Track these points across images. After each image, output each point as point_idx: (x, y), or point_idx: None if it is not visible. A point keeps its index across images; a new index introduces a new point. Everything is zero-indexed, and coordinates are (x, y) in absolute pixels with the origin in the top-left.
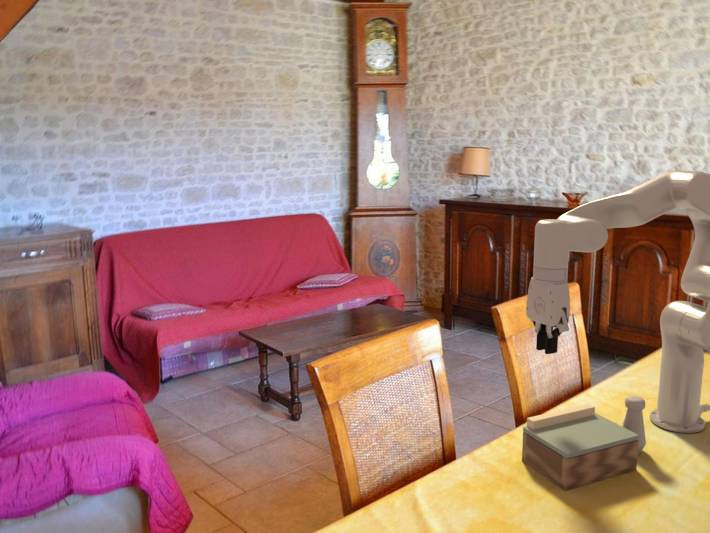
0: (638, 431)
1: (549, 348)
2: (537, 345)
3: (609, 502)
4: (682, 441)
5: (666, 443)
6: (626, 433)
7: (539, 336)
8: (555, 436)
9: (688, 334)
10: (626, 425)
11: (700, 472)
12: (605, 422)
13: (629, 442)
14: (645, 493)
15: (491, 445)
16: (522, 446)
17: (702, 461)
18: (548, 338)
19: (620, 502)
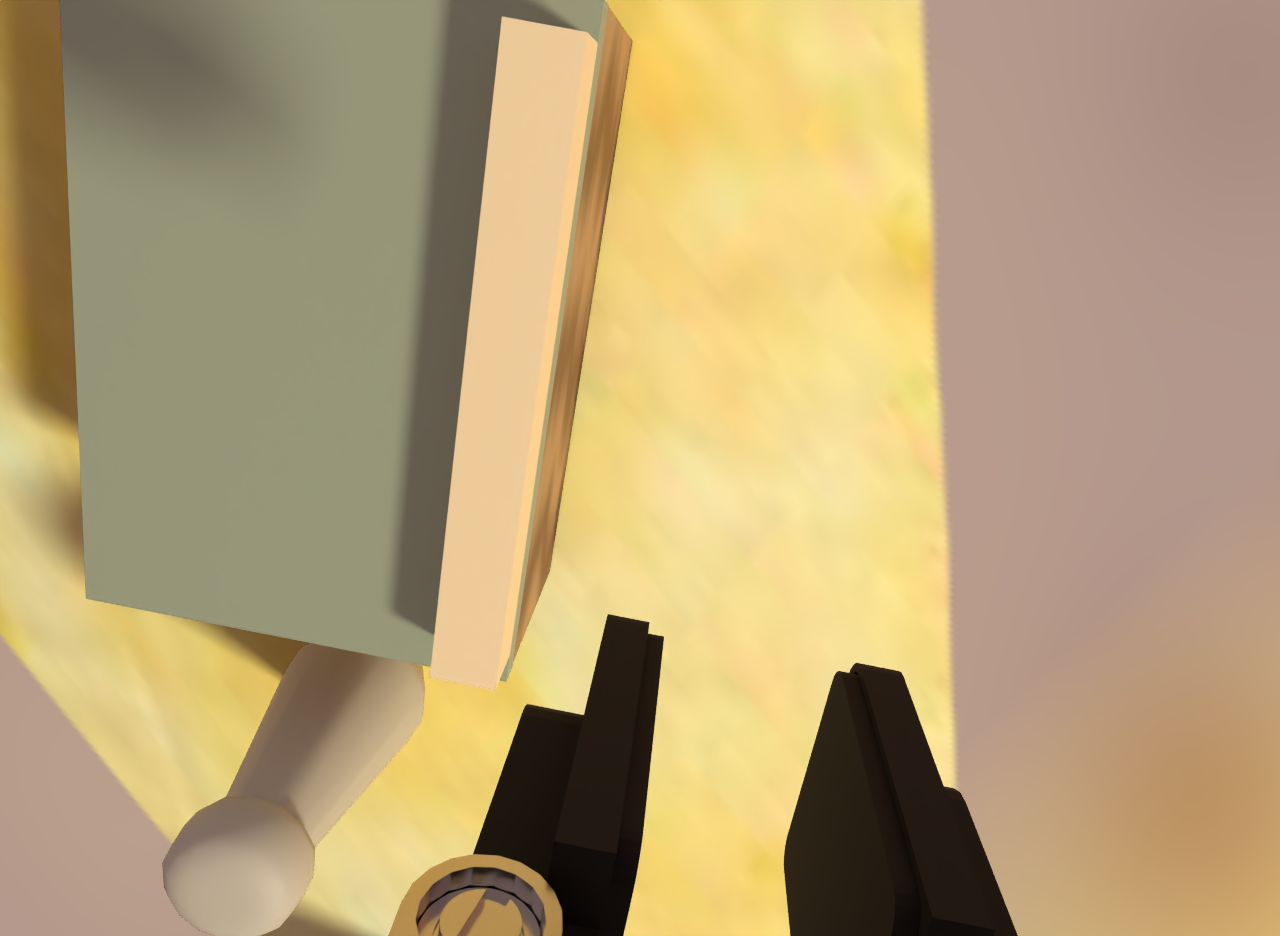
0: (263, 721)
1: (577, 721)
2: (883, 712)
3: (31, 87)
4: (316, 907)
5: (339, 842)
6: (136, 559)
7: (891, 885)
8: (331, 93)
9: None
10: (314, 715)
11: (74, 709)
12: (323, 597)
13: None
14: (29, 333)
15: (914, 32)
16: (621, 25)
17: (142, 803)
18: (554, 865)
19: (9, 140)
